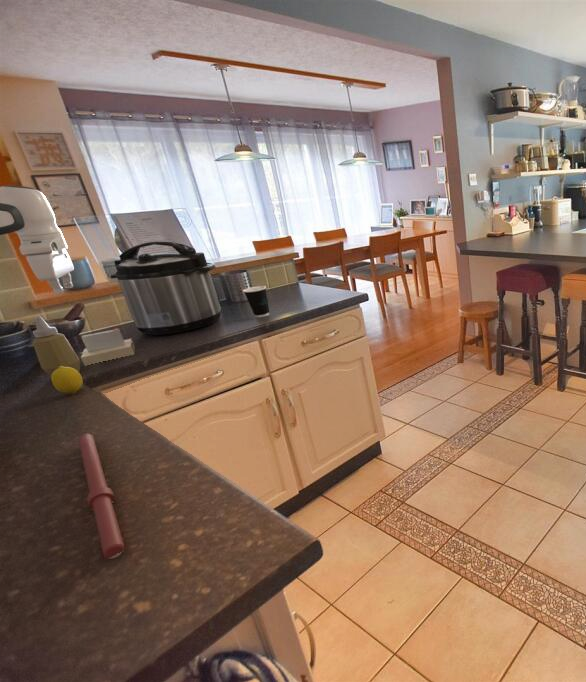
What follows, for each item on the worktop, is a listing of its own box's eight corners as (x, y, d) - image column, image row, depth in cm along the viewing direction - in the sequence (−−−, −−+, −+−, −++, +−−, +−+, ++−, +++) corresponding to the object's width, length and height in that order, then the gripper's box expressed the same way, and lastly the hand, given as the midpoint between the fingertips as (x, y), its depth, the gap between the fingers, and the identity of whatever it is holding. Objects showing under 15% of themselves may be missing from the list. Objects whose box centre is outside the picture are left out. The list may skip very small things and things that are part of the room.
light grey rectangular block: (88, 352, 137) (80, 336, 135) (89, 350, 138) (82, 334, 136) (124, 344, 141) (117, 329, 139) (125, 342, 143) (119, 327, 141)
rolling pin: (132, 553, 63) (124, 537, 62) (104, 567, 61) (95, 551, 60) (98, 441, 92) (92, 429, 91) (79, 448, 90) (72, 435, 89)
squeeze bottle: (48, 383, 123) (17, 324, 116) (47, 376, 128) (17, 318, 122) (86, 373, 128) (58, 315, 122) (83, 366, 134) (56, 311, 127)
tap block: (81, 368, 132) (77, 359, 131) (86, 356, 142) (82, 347, 141) (136, 355, 140) (132, 346, 138) (137, 344, 149) (133, 336, 148)
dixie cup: (270, 317, 169) (262, 289, 165) (248, 320, 168) (239, 292, 164) (275, 311, 177) (268, 285, 173) (254, 314, 175) (246, 287, 171)
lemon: (74, 389, 118) (60, 362, 116) (93, 388, 118) (80, 361, 115) (53, 399, 113) (39, 371, 110) (73, 398, 113) (59, 370, 110)
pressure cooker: (244, 315, 174) (219, 235, 162) (169, 341, 150) (133, 249, 138) (198, 310, 186) (172, 235, 174) (121, 333, 162) (84, 248, 150)
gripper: (42, 242, 133) (61, 286, 138) (16, 249, 117) (39, 299, 122) (69, 239, 136) (87, 283, 141) (48, 246, 120) (69, 295, 125)
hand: (65, 290), depth 131 cm, fingers open, 8 cm apart
